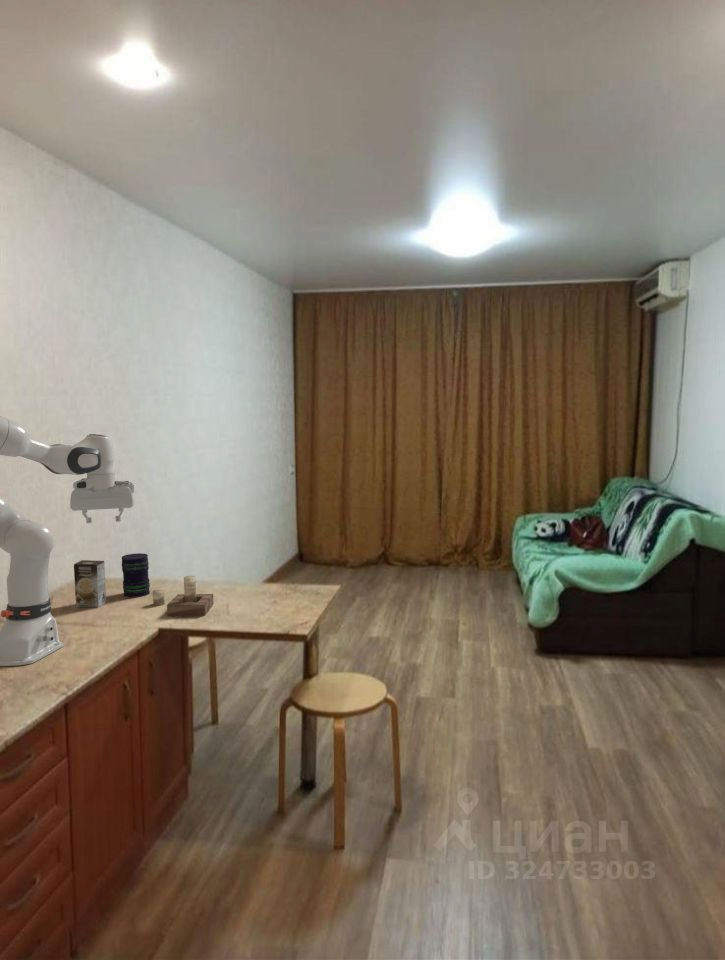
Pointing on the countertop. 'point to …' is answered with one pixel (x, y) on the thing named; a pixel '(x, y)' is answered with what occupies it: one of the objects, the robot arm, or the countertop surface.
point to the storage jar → (135, 575)
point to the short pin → (158, 597)
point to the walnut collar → (190, 605)
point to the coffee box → (89, 583)
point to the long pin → (190, 588)
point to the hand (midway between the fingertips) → (103, 522)
